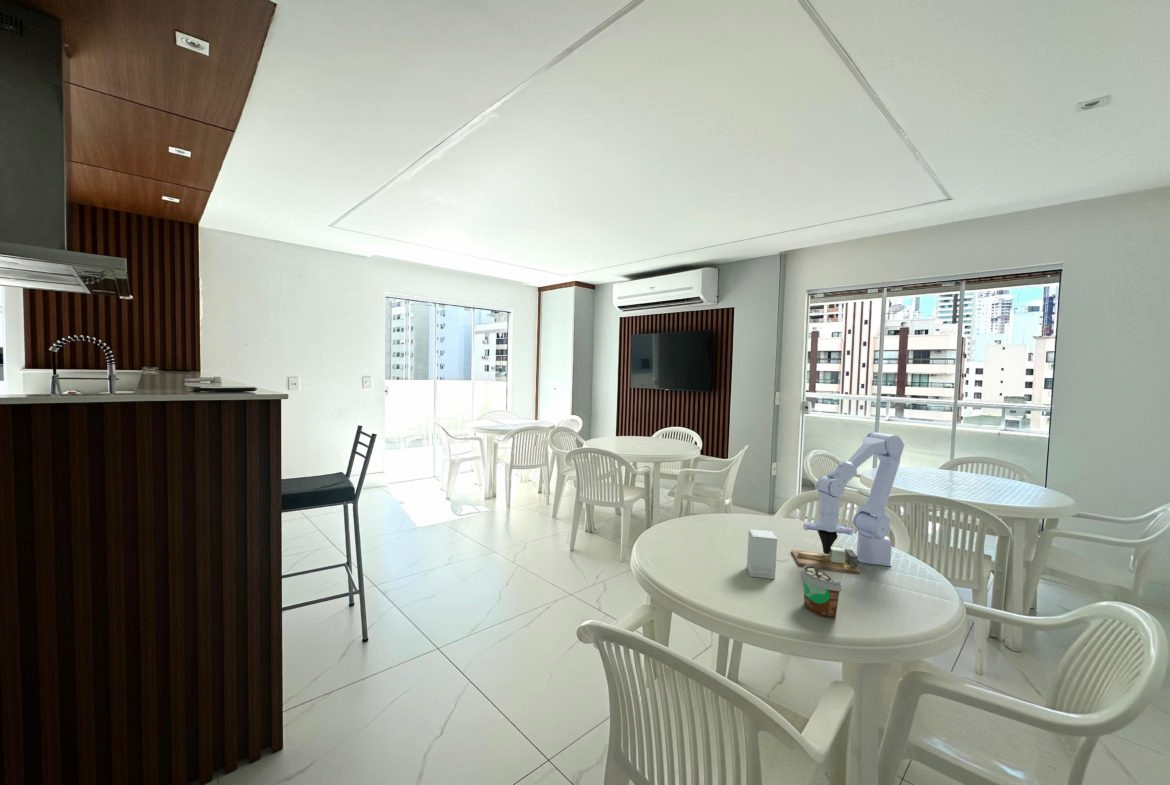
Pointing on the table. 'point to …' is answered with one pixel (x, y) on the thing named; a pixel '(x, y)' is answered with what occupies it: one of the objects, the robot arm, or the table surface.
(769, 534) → the supplement box
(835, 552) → the block
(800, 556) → the track board
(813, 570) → the food container
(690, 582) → the table surface
